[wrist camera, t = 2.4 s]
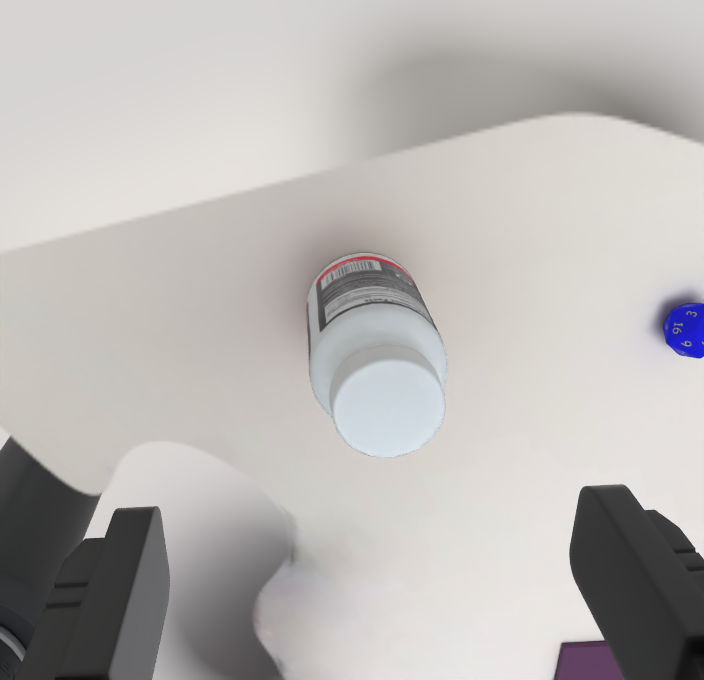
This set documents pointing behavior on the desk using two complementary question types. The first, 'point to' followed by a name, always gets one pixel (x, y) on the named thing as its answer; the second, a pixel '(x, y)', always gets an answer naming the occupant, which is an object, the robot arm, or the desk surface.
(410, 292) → the pill bottle
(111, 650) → the robot arm
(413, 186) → the desk surface
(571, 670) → the mat
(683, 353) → the die
